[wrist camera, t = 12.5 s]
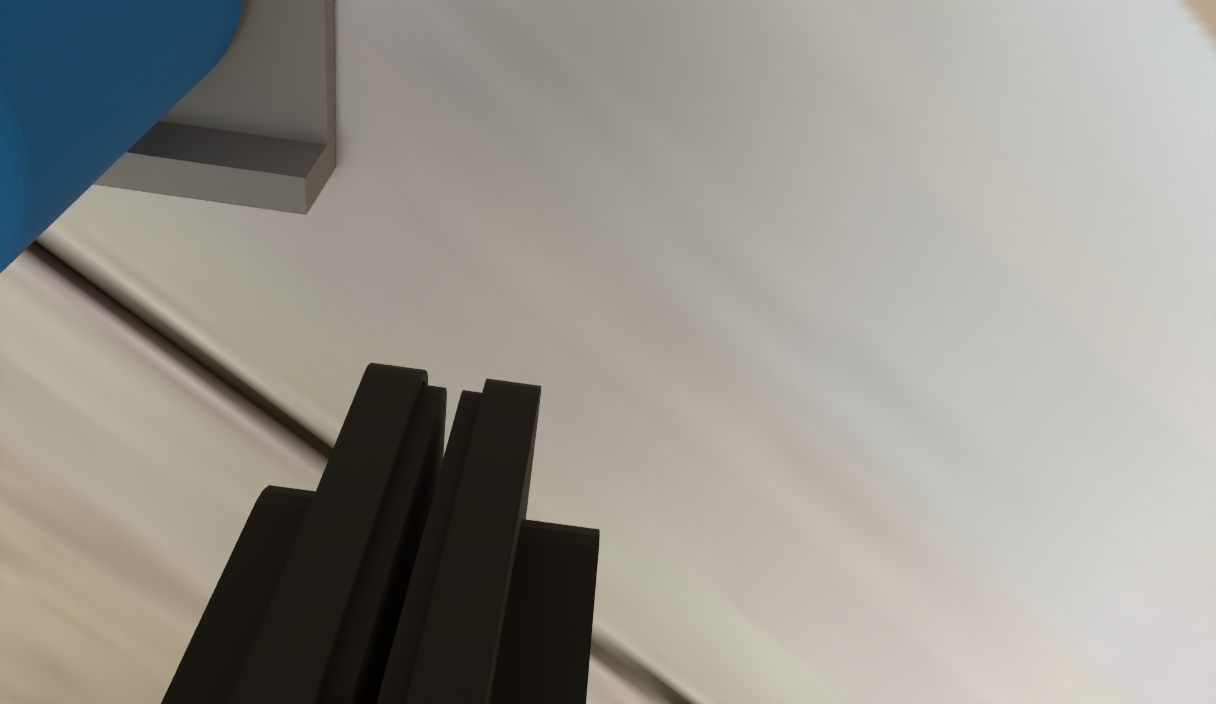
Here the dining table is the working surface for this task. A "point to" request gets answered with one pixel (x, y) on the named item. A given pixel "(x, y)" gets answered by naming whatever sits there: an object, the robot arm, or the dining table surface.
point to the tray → (249, 118)
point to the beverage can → (90, 93)
